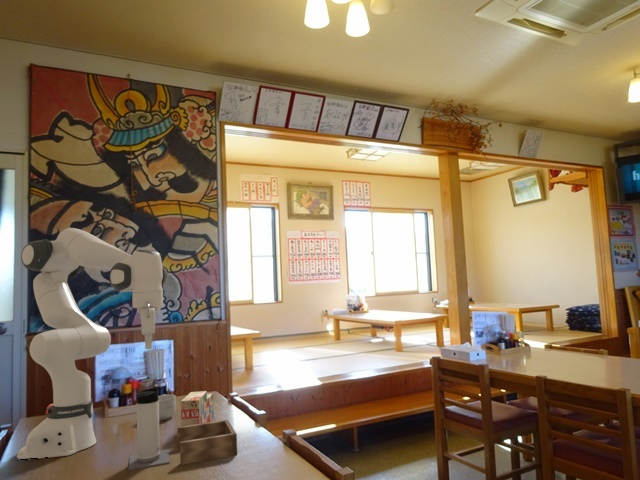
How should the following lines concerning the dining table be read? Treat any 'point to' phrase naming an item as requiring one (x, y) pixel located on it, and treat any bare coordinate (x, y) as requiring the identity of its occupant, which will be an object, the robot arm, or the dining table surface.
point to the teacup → (166, 406)
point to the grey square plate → (160, 461)
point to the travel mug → (148, 426)
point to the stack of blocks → (197, 408)
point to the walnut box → (206, 441)
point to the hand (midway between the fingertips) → (148, 347)
